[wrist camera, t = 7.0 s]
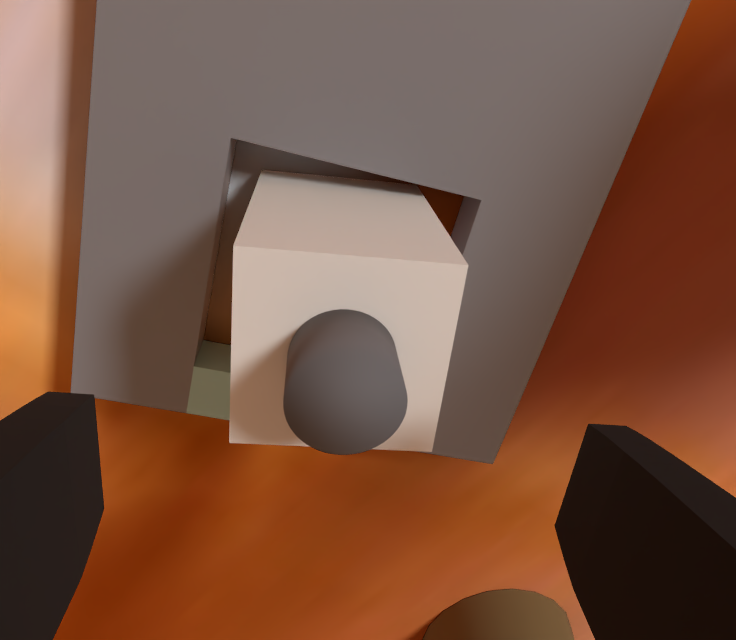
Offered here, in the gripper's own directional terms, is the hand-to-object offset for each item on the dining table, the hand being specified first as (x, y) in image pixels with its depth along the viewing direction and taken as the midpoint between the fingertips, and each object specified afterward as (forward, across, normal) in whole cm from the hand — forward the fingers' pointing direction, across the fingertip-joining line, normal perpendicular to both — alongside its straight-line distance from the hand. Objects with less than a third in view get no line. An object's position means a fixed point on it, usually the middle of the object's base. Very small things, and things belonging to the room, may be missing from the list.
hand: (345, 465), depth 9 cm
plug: (+8, 0, 0) cm, 9 cm away
